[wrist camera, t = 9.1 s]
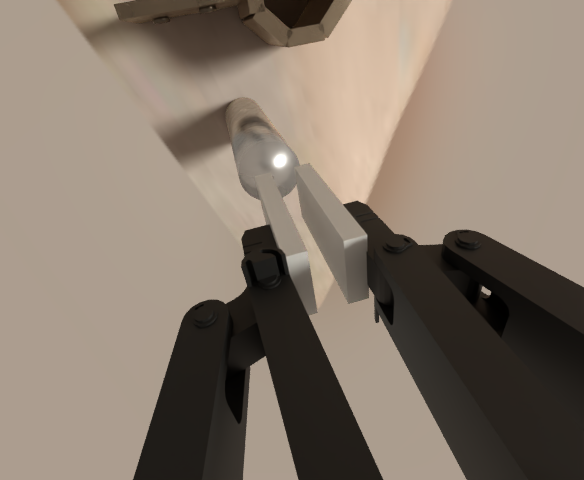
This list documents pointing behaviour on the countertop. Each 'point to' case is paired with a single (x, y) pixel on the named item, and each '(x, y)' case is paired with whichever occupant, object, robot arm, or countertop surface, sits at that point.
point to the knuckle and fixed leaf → (245, 17)
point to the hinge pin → (259, 148)
